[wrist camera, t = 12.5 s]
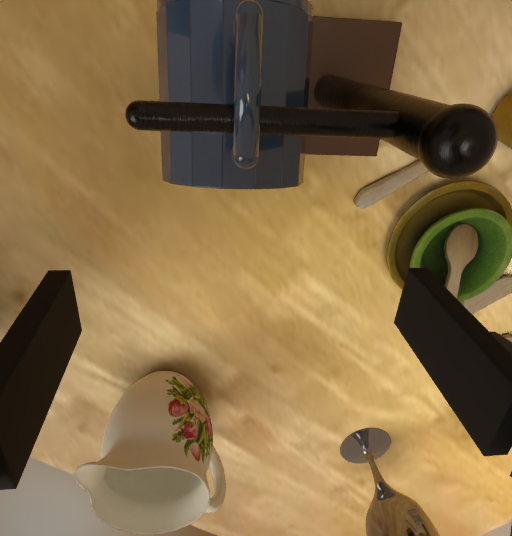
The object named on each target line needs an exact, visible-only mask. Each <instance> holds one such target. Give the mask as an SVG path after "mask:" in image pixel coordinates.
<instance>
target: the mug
mask: <svg viewBox="0 0 512 536" xmlns="http://www.w3.org/2000/svg"><path fill="white" fill-rule="evenodd" d="M312 14H313V8H312V5H311V4H310V2H309V1H308V0H157V13H156V16H157V42H158V68H159V94H160V101H165V102H188V103H212V104H234V133H206V132H177V131H161V147H162V173H163V181H165V182H168V183H171V184H176V185H183V186H190V187H202V188H217V189H279V188H288V187H296V186H299V185H301V184H302V183H303V175H304V159H305V144H306V136H293V135H264V134H260V113H261V106H281V107H305V108H308V97H309V82H310V66H311V51H312V35H313V21H312Z"/></svg>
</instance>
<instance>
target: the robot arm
mask: <svg viewBox="0 0 512 536" xmlns="http://www.w3.org/2000/svg"><path fill="white" fill-rule="evenodd" d="M394 323H395V325H396V326H397V328H398V329H399V331H400V332H401V334H402V335H403V337H404V338H405V340H406V341H407V343H408V344H409V346H410V347H411V349H412V350H413V352H414V353H415V355H416V356H417V358H418V359H419V361H420V362H421V363H422V365H423V366H424V368H425V369H426V371H427V372H428V374H429V375H430V377H431V378H432V380H433V381H434V383H435V384H436V386H437V387H438V389H439V390H440V392H441V393H442V395H443V396H444V398H445V399H446V401H447V402H448V404H449V405H450V407H451V408H452V410H453V411H454V413H455V414H456V415H457V417H458V418H459V420H460V421H461V423H462V424H463V426H464V427H465V429H466V430H467V432H468V433H469V435H470V436H471V438H472V439H473V441H474V442H475V444H476V445H477V447H478V448H479V450H480V451H481V453H482V454H483V456H493V455H507V454H508V452H509V450H510V449H511V447H512V342H511V341H509V340H508V339H506V338H504V337H503V336H501V335H500V334H498V333H496V332H489V331H488V330H487V329H486V328H485V327H484V326H483V325H482V324H481V323H480V322H479V321H478V320H477V319H476V318H475V317H474V316H473V315H472V314H471V313H470V312H469V311H468V310H467V309H466V308H465V307H464V306H463V305H462V304H461V303H460V302H459V301H458V299H457V298H456V297H455V296H454V295H453V294H452V293H451V292H450V291H449V290H448V289H447V288H446V287H445V286H444V285H443V284H442V283H441V282H440V281H439V280H438V279H437V278H436V277H435V276H434V275H433V274H432V273H431V272H430V271H429V270H428V269H427V268H408V272H407V276H406V280H405V283H404V287H403V291H402V295H401V298H400V302H399V306H398V310H397V313H396V317H395V321H394ZM81 331H82V328H81V323H80V318H79V313H78V307H77V302H76V297H75V291H74V286H73V281H72V275H71V270H55V271H48V272H47V274H46V275H45V277H44V278H43V280H42V281H41V283H40V284H39V286H38V287H37V289H36V290H35V292H34V293H33V295H32V296H31V298H30V299H29V301H28V302H27V304H26V305H25V307H24V308H23V309H22V311H21V312H20V314H19V315H18V317H17V318H16V320H15V321H14V323H13V324H12V326H11V327H10V329H9V330H8V332H7V333H6V335H5V336H4V338H3V339H2V341H1V342H0V490H3V489H16V487H17V485H18V483H19V480H20V478H21V476H22V473H23V471H24V468H25V466H26V464H27V461H28V459H29V456H30V454H31V452H32V449H33V447H34V444H35V442H36V440H37V437H38V435H39V432H40V430H41V428H42V425H43V423H44V420H45V418H46V416H47V413H48V411H49V408H50V406H51V404H52V401H53V399H54V396H55V394H56V391H57V389H58V387H59V384H60V382H61V379H62V377H63V375H64V372H65V370H66V367H67V365H68V363H69V360H70V358H71V355H72V353H73V351H74V348H75V346H76V343H77V341H78V339H79V336H80V334H81ZM510 476H511V477H512V472H511V474H510ZM510 536H512V526H511V535H510Z"/></svg>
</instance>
